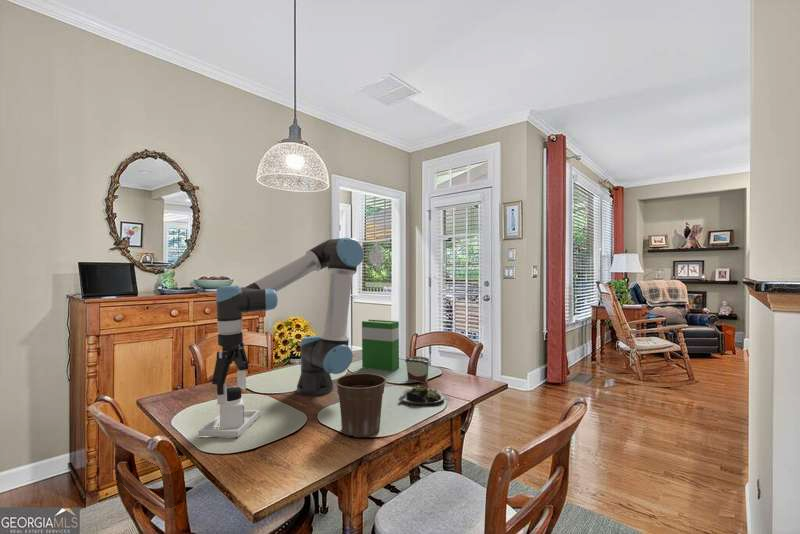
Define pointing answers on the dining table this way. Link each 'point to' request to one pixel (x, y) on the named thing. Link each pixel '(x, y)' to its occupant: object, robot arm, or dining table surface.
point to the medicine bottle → (232, 409)
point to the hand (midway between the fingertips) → (232, 396)
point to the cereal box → (380, 345)
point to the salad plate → (421, 396)
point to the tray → (232, 432)
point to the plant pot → (360, 403)
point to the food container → (417, 368)
